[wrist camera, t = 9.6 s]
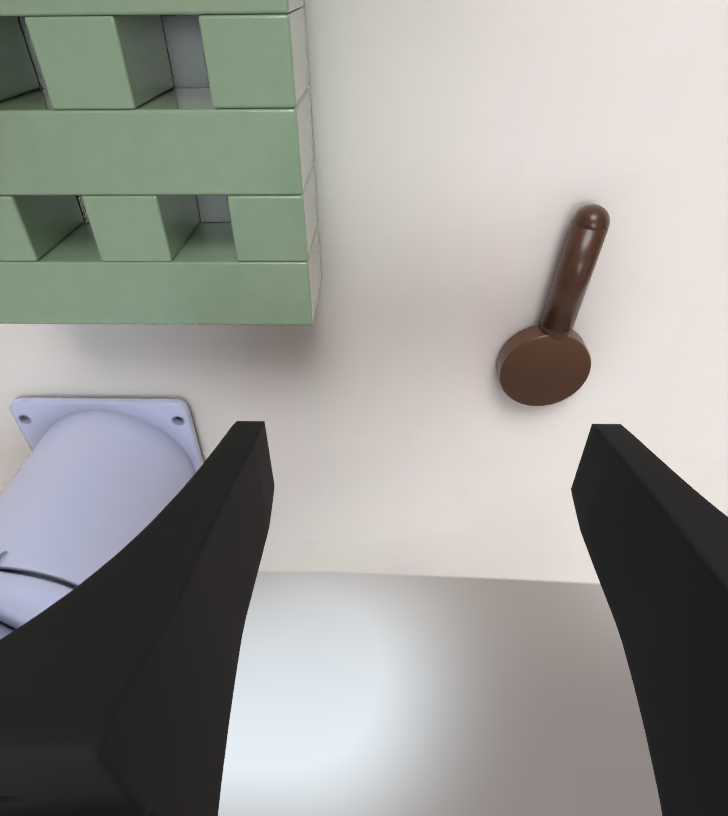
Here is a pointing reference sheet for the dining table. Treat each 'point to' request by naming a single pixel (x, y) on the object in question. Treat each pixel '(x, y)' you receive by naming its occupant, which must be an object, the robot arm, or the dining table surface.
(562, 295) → the walnut spoon
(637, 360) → the dining table surface
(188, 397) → the dining table surface
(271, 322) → the utensil stand
